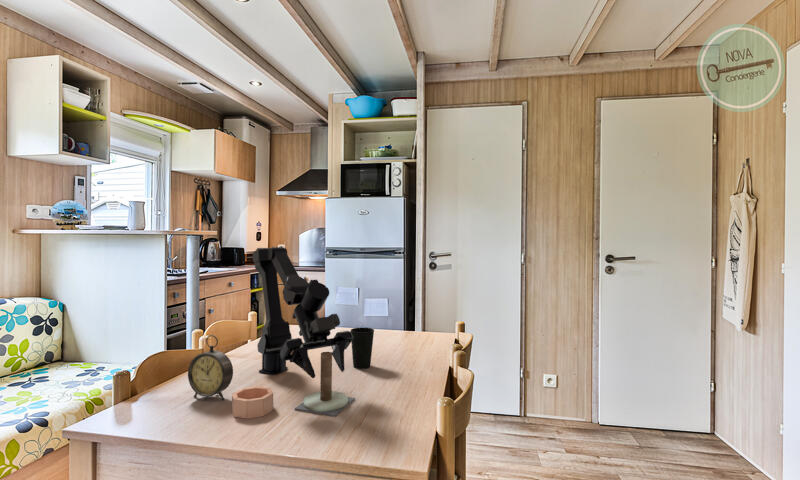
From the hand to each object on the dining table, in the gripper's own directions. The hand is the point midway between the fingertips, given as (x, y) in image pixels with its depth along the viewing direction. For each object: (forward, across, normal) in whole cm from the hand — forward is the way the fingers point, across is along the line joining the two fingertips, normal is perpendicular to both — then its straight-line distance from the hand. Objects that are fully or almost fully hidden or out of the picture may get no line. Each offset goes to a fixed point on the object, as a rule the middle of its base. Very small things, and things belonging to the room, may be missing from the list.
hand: (328, 374), depth 103 cm
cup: (-10, +25, +22) cm, 34 cm away
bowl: (-1, -16, +12) cm, 20 cm away
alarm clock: (-11, -21, +22) cm, 33 cm away
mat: (+5, 0, +7) cm, 8 cm away
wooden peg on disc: (+4, 0, +6) cm, 8 cm away
